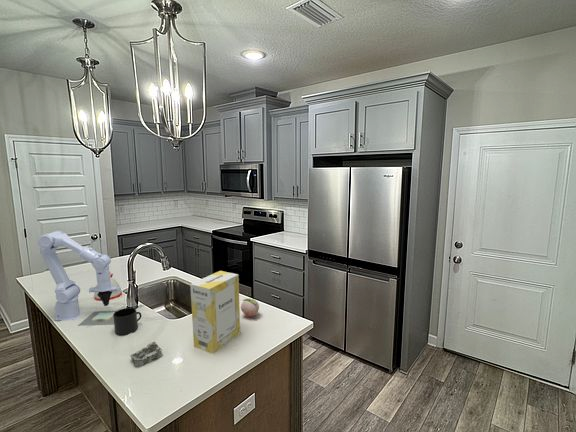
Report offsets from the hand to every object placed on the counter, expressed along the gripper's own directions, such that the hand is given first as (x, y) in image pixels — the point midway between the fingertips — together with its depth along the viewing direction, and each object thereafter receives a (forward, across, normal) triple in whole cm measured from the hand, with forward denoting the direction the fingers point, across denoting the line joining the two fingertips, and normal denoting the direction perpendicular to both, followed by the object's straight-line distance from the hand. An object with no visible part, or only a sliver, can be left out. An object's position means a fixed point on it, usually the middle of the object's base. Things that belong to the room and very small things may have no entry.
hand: (106, 305), depth 155 cm
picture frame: (+6, 0, +3) cm, 7 cm away
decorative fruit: (+6, -73, +5) cm, 73 cm away
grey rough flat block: (+6, -34, +37) cm, 50 cm away
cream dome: (+6, +12, -24) cm, 28 cm away
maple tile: (+5, 0, 0) cm, 5 cm away
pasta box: (+6, -60, +25) cm, 65 cm away
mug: (+6, -17, +14) cm, 23 cm away
